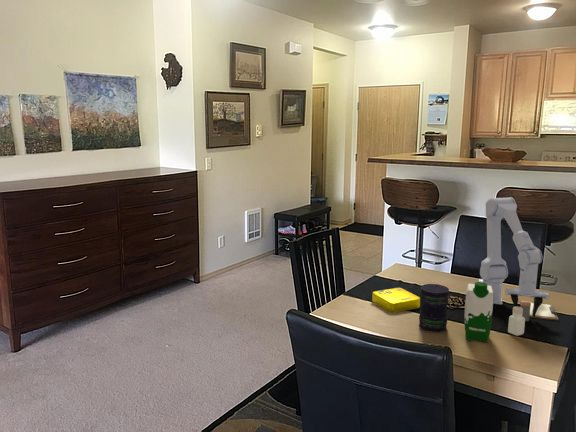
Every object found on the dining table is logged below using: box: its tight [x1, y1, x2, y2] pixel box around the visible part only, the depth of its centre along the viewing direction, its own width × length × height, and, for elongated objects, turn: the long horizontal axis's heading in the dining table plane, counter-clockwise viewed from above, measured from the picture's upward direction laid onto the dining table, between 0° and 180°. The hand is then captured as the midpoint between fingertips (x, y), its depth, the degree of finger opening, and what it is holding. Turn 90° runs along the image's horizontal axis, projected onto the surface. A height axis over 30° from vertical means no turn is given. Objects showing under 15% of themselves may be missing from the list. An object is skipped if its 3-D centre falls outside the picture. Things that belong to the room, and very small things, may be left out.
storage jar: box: [418, 283, 450, 334], centre depth 173 cm, size 10×10×15 cm
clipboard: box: [519, 300, 560, 322], centre depth 189 cm, size 12×16×2 cm
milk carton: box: [463, 281, 494, 343], centre depth 164 cm, size 9×9×20 cm
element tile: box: [371, 287, 421, 313], centre depth 197 cm, size 15×15×5 cm
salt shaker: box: [507, 306, 526, 337], centre depth 168 cm, size 4×4×10 cm
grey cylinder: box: [520, 299, 531, 322], centre depth 180 cm, size 3×3×7 cm
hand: (524, 314), depth 181 cm, fingers open, 5 cm apart
